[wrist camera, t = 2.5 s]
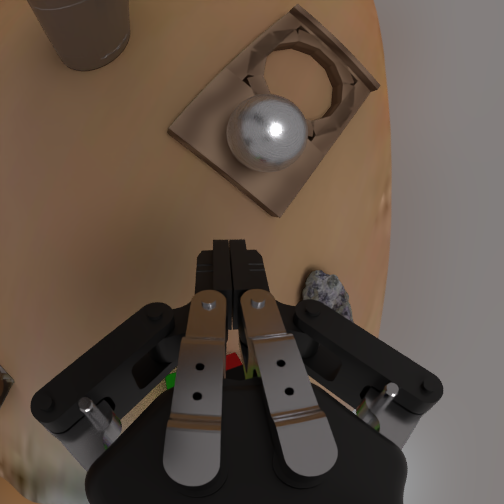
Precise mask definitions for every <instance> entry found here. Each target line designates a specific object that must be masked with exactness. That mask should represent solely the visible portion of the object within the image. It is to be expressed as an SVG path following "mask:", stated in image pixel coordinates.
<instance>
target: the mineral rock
mask: <svg viewBox="0 0 504 504" xmlns="http://www.w3.org/2000/svg"><path fill="white" fill-rule="evenodd" d="M305 284H306V287H305V288H304V289H303V293H302V296H303V300H306V299H313V300H317V301H320V302H322V303H323V304H325V305H327V306H328V307H330V308H331V309H333V310H334V311H336V312H337V313H339V314H340V315H342V316H344V317H345V318H347V319H348V320H350V321H351V322H353V318H352V311H351V306H350V304H349V302H348V299H349V295H348V293H347V292H346V291H345V289H344V286H343V285H342V284H341V282H340V281H339V279H338V277H337V276H336V275H334V274H333V275H329V274H325V273H323V271H321V270H316V271H312V272H311V273H310V275H309V277H308V278H307V280H306V283H305ZM353 323H354V322H353Z"/></svg>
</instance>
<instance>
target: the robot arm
mask: <svg viewBox="0 0 504 504" xmlns="http://www.w3.org/2000/svg"><path fill="white" fill-rule="evenodd" d="M27 1H28V3H29V5H30V6H31V8H32V10H33V12H34V14H35V15H36V17H37V19H38V21H39V23H40V24H41V26H42V28H43V30H44V31H45V33H46V35H47V37H48V38H49V40H50V42H51V43H52V45H53V47H54V49H55V50H56V52H57V54H58V55H59V57H60V59H61V60H62V61H63V63H64V64H65V65H66V66H68V67H69V68H72V69H74V70H80V71H85V70H93V69H97V68H99V67H102V66H104V65H106V64H108V63H109V62H111V61H113V60H114V59H115V58H116V57H117V56H118V55H119V54H120V53H121V52H122V51H123V50H124V48H125V46H126V45H127V43H128V40H129V36H130V24H129V0H27ZM232 322H233V329H238V331H239V348H240V354H241V359H242V364H243V369H244V373H245V379H246V380H242V381H238V380H232V379H226V378H225V377H226V342H227V340H228V330H232ZM176 366H177V371H176V378H175V385H174V387H172V388H170V389H168V390H166V391H164V392H163V393H162V394H160V395H159V396H158V397H157V398H156V399H155V400H154V401H153V402H152V403H151V404H150V405H149V406H148V407H147V408H146V409H145V410H144V411H143V412H142V414H141V415H140V416H139V417H138V418H137V419H136V420H135V421H134V422H133V423H132V424H131V425H130V426H129V427H128V428H127V429H126V430H125V431H124V432H123V433H122V434H121V435H120V433H121V429H122V425H121V421H120V420H121V419H122V418H123V417H124V416H125V415H126V414H127V413H128V412H129V411H130V410H131V409H132V408H133V407H134V406H136V405H137V404H138V403H139V402H140V401H141V400H142V399H143V398H144V397H145V396H146V395H147V394H148V393H149V392H150V391H151V390H152V389H153V388H154V387H155V386H157V385H158V384H159V383H160V382H161V381H162V380H163V379H164V378H165V377H166V376H167V375H168V374H169V373H170V372H171V371H172V370H173V369H174V368H175V367H176ZM307 374H308V375H309V376H310V377H312V378H313V379H314V380H316V381H317V382H318V383H320V384H321V385H322V386H324V387H325V388H326V389H328V390H329V391H331V392H332V393H333V394H335V395H336V396H338V397H339V398H340V399H342V400H343V401H344V402H346V403H347V404H349V405H350V406H352V407H353V408H354V409H356V414H357V415H355V414H354V413H353V412H351V411H350V410H349V409H347V408H346V407H345V406H343V405H342V404H341V403H340V402H338V401H337V400H336V399H334V398H333V397H332V396H331V395H329V394H328V393H327V392H326V391H324V390H323V389H322V388H320V387H318V386H317V385H315V384H313V383H311V382H310V380H309V377H308V375H307ZM442 395H443V385H442V383H441V381H440V379H439V378H438V377H437V376H435V375H434V374H432V373H431V372H429V371H428V370H426V369H425V368H423V367H422V366H420V365H418V364H417V363H415V362H413V361H412V360H411V359H409V358H408V357H406V356H404V355H403V354H401V353H400V352H398V351H396V350H395V349H393V348H392V347H390V346H389V345H387V344H386V343H384V342H383V341H381V340H379V339H378V338H376V337H375V336H373V335H372V334H370V333H368V332H367V331H365V330H364V329H362V328H361V327H359V326H358V325H356V324H354V323H353V322H351V321H350V320H348V319H347V318H345V317H344V316H342V315H340V314H339V313H337V312H336V311H334V310H333V309H331V308H330V307H328V306H327V305H325V304H323V303H322V302H320V301H317V300H313V299H306V300H303V301H301V302H299V303H298V304H297V305H296V306H290V305H286V304H282V303H280V302H278V301H276V300H275V298H274V296H273V295H272V294H271V293H270V291H269V286H268V282H267V277H266V273H265V268H264V265H263V259H262V256H261V255H260V254H259V253H258V252H257V250H246V244H245V240H229V242H228V240H213V250H206V251H201V253H200V254H199V255H198V257H197V268H196V283H195V295H194V296H193V298H192V300H191V302H190V303H188V304H187V305H185V306H183V307H180V308H176V309H171V307H170V306H168V305H167V304H164V303H160V302H155V303H150V304H148V305H146V306H144V307H143V308H141V309H140V310H139V311H138V312H136V313H135V314H134V315H132V316H131V317H130V318H129V319H127V320H126V321H125V322H123V323H122V324H121V325H120V326H118V327H117V328H116V329H115V330H113V331H112V332H111V333H109V334H108V335H107V336H106V337H104V338H103V339H102V340H101V341H99V342H98V343H97V344H96V345H94V346H93V347H92V348H91V349H89V350H88V351H87V352H86V353H84V354H83V355H82V356H81V357H79V358H78V359H77V360H76V361H74V362H73V363H72V364H71V365H69V366H68V367H67V368H66V369H64V370H63V371H62V372H61V373H59V374H58V375H57V376H56V377H55V378H53V379H52V380H51V381H50V382H48V383H47V384H46V385H45V386H44V387H42V388H41V389H40V390H39V391H37V392H36V393H35V395H34V396H33V398H32V400H31V412H32V414H33V416H34V417H35V418H36V419H37V420H38V421H39V422H40V423H41V424H42V425H43V426H44V427H45V428H46V429H47V430H48V431H49V432H50V433H51V434H52V435H53V436H55V437H56V438H57V439H58V440H59V441H61V442H62V444H63V445H64V446H65V447H66V448H67V450H68V451H69V452H70V453H71V454H72V456H73V457H74V458H75V459H76V460H77V461H78V462H79V463H80V465H81V466H82V467H83V468H84V469H85V470H86V471H87V474H86V478H85V491H86V496H87V499H88V501H89V503H90V504H403V492H404V486H405V482H406V478H407V462H406V458H405V456H404V454H403V452H402V451H401V450H402V448H403V446H404V445H405V443H406V442H407V440H408V438H409V437H410V435H411V433H412V432H413V430H414V428H415V427H416V425H417V423H418V421H419V420H420V418H421V417H422V416H423V415H424V414H425V413H426V412H427V411H428V410H429V409H431V408H432V407H433V405H435V404H436V403H437V402H438V401H439V399H440V398H441V397H442ZM119 435H120V436H119Z"/></svg>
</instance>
